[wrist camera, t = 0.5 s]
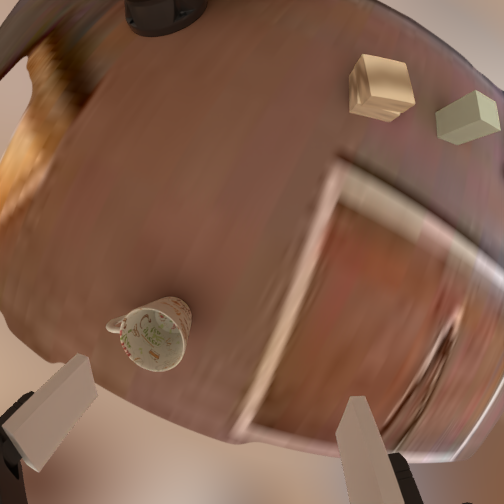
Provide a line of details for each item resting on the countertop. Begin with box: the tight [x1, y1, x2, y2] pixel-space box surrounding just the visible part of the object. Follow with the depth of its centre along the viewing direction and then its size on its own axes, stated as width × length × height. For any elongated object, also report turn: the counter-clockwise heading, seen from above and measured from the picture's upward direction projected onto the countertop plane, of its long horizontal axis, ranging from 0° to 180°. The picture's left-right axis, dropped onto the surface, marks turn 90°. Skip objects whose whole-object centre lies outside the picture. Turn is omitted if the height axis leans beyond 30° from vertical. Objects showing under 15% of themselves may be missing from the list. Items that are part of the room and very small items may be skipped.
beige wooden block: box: [349, 69, 400, 123], centre depth 35 cm, size 7×7×4 cm
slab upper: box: [354, 54, 415, 113], centre depth 31 cm, size 7×7×4 cm
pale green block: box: [435, 90, 501, 145], centre depth 31 cm, size 5×5×12 cm
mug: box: [106, 297, 192, 372], centre depth 35 cm, size 8×13×10 cm, turn 93°
